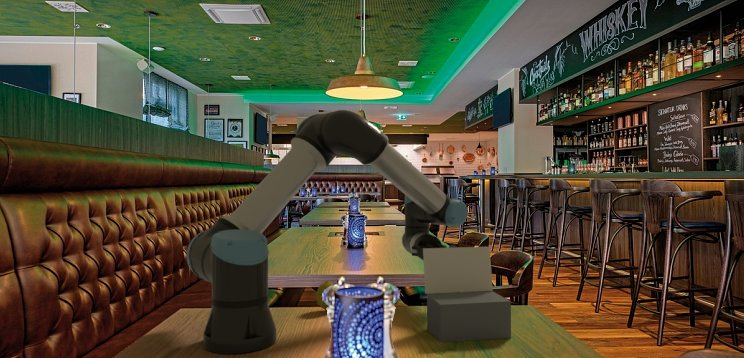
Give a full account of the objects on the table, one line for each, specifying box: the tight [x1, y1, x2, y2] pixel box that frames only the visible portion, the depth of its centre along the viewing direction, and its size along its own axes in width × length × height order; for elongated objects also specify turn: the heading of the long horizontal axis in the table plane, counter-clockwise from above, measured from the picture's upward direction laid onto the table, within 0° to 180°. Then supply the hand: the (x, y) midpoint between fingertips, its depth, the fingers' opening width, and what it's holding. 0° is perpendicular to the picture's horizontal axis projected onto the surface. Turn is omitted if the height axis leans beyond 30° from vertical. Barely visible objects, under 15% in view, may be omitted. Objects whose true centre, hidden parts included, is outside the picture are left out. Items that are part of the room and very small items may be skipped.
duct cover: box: [422, 246, 494, 295], centre depth 119 cm, size 16×10×1 cm
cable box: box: [426, 290, 512, 343], centre depth 113 cm, size 16×10×8 cm, turn 100°
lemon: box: [316, 280, 335, 311], centre depth 132 cm, size 6×6×8 cm
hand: (453, 259), depth 123 cm, fingers closed
